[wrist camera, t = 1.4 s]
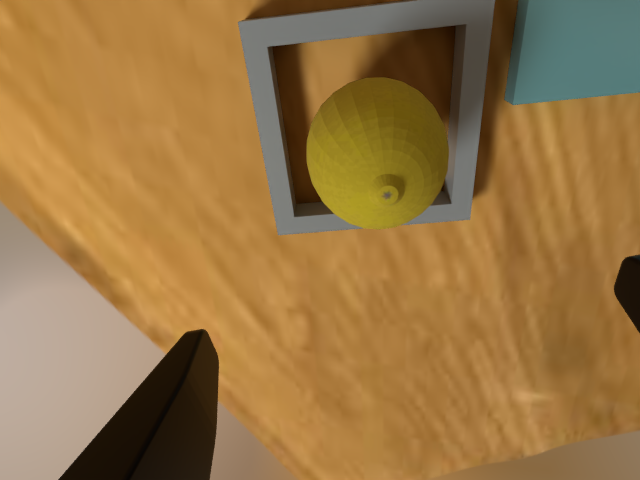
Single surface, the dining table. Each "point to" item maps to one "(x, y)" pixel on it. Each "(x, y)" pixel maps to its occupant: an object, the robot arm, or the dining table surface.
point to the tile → (574, 50)
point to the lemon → (377, 153)
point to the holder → (411, 14)
